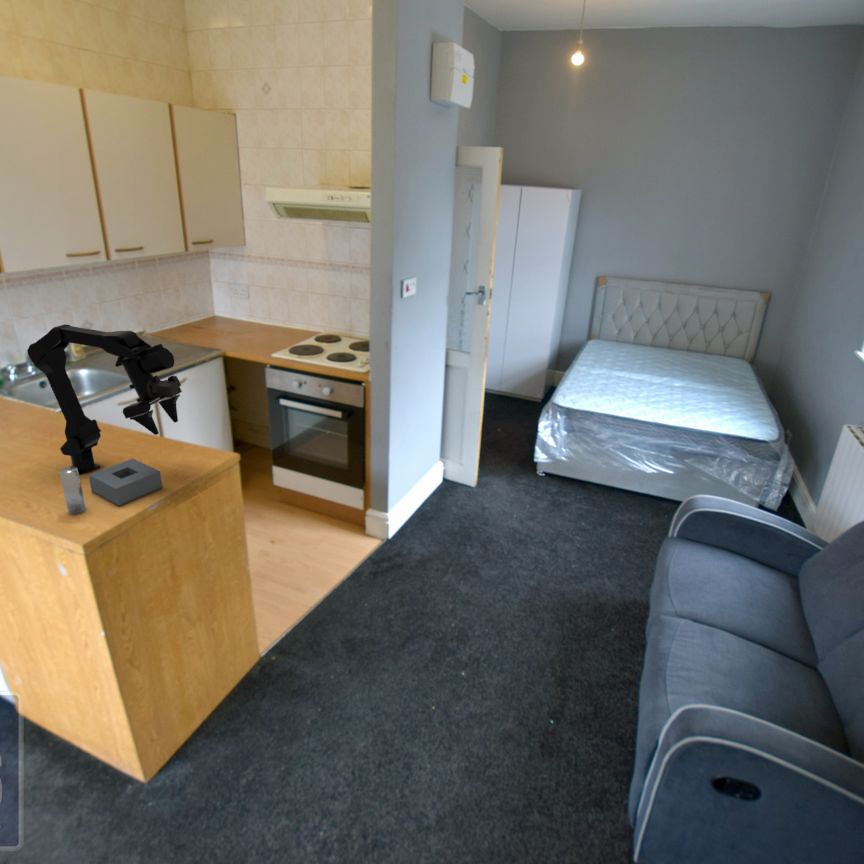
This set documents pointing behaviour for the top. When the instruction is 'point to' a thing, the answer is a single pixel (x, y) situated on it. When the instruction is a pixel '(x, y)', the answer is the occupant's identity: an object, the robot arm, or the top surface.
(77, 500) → the aluminium peg
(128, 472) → the slate socket block
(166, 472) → the top surface
